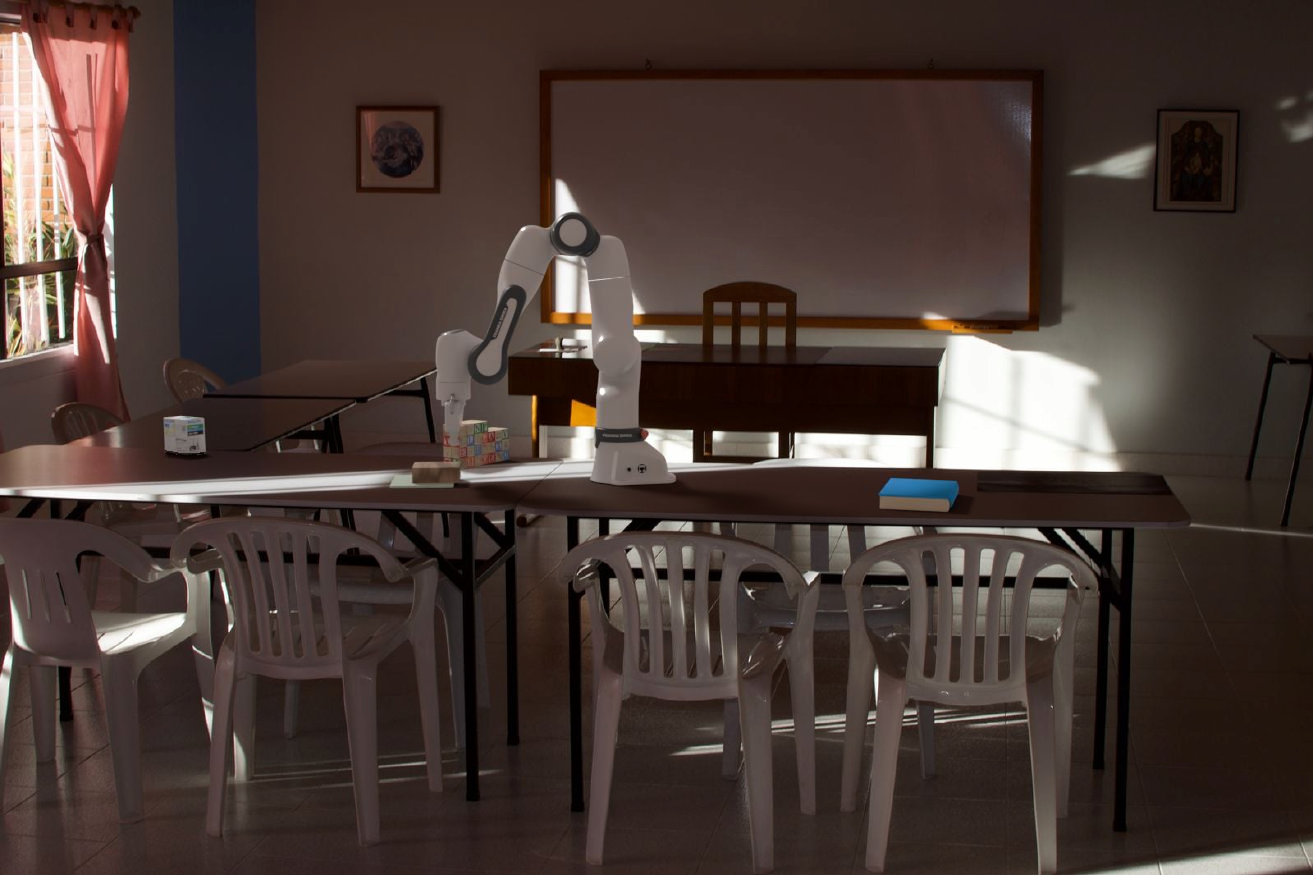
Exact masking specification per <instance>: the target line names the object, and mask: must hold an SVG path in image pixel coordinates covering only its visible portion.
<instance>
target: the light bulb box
mask: <svg viewBox="0 0 1313 875" xmlns="http://www.w3.org/2000/svg"><path fill="white" fill-rule="evenodd" d="M205 426H206V425H205V418H204V417H196V416H195V417H194V416H186V415H184V416H183V415H179V416H178V415H177V416H168V417H167V416H166V417H165V416H164V417H163V432H164V434H163V435H164V436H163V437H164V451H165V450H167V451H173V452H178V453H200V452H206V453H207V450H206V448H207V447H206V432H205V431H206V427H205Z"/></svg>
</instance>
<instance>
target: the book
mask: <svg viewBox="0 0 1313 875" xmlns="http://www.w3.org/2000/svg"><path fill="white" fill-rule="evenodd" d="M959 492H960V487H959V484H958V481H957V480H940V479H939V480H937V479H920V478H918V479H917V478H916V479H915V478H896V477H895V478H894V477H893V478H892V477H890V479H889V480H888V481H887V482H886V484H885V485H884V486H883V488H882V489H881V490H880V491H879V493H878V497H879V509H881V510H882V509H884V510H887V509H888V510H906V511H922V512H925V511H926V512H942V513H948V512H949V511H950V509H951V508H952V506H953V504H954V502H955V500H956V498H957V496H958V494H959Z"/></svg>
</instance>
